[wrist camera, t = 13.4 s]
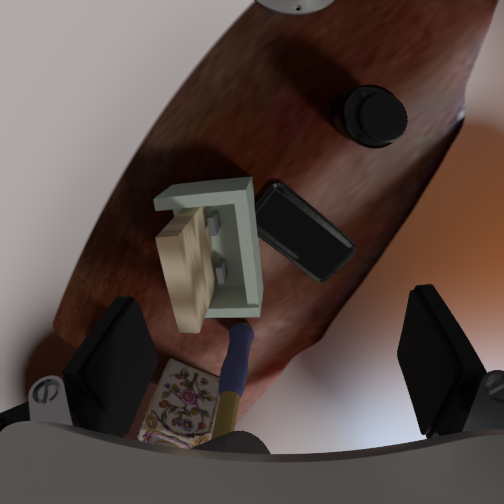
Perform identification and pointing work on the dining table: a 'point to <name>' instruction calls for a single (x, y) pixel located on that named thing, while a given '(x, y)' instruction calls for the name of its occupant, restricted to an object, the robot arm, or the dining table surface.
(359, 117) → the supplement bottle
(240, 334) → the rubber mallet
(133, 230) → the dining table surface
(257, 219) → the phone
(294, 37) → the dining table surface
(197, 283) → the wooden block
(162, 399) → the decorative jar
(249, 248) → the cabinet
